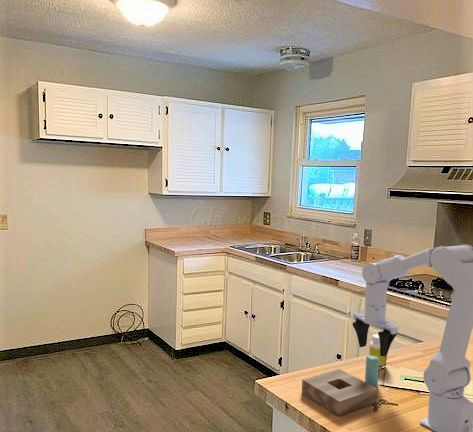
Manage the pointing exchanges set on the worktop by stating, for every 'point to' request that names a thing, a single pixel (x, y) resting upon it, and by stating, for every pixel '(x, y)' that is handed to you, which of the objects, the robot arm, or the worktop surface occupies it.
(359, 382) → the socket block
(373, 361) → the teal pin
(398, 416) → the worktop surface
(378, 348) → the supplement bottle
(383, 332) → the robot arm
